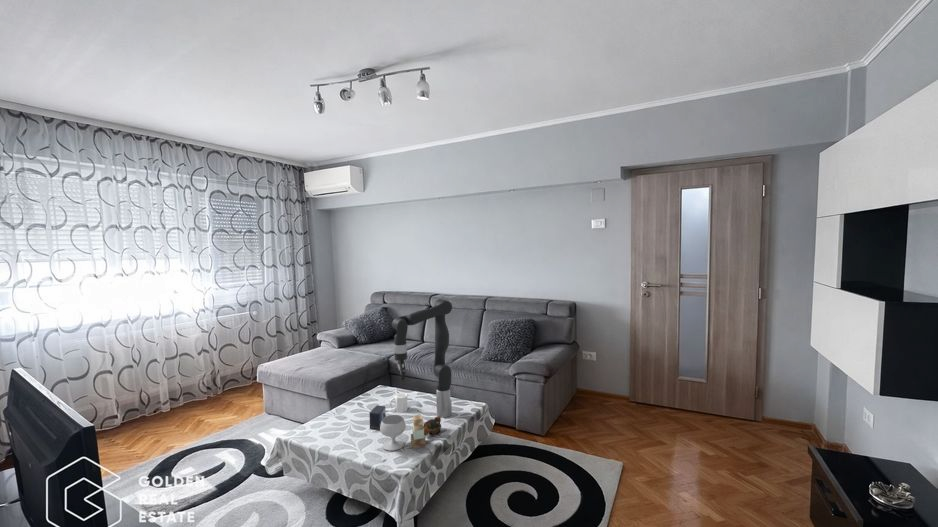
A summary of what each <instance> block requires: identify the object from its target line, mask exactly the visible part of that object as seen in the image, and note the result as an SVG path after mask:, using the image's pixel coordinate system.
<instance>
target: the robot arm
mask: <svg viewBox="0 0 938 527" xmlns="http://www.w3.org/2000/svg"><path fill="white" fill-rule="evenodd" d="M433 304H434V305H433V307H431V308H427V309H425V308H424V309H420V310H416V311H414V312H411V313H410V314H405V315H402V316H398V317H395V318H394V319H393V320H392V321H391V322H392V323H391V326H392V328H393V329H394V330H396V334H395V335H394V337H393V339H394V340H393V343H394V349H393V350H394V351H393V352H394V360H395V361H397V369H398V376H400V380H401V381H405V379H406V375H405V374H407V372H406V362H405V361H406V360H407V359H408V346H407V334H408V327H409V326H415V325H418V324H419V323H422V322H424V321H426V320H430V319H434V361H433V362H434V363H433V374H434V376H436V377H437V378H438V383H436V386H435V395H436V397H435V399H436V404H435V405H436V417H437V416H440V418H447V417H450V416H452V415H453V412H452V411H453V410H452V407H453V406H452V399H451V386H452V369H451V367H450V366H448V364H446V353H447V351H448V348H449V346H450V331H449V328H448V326H447V322H446V315H449V314H450V313H451V311H452V310H453V304H452V303H451V302H450V301H449V300H447V299H441V298H438V299H437V300H436V301H435V302H434V303H433Z"/></svg>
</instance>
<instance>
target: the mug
mask: <svg viewBox="0 0 938 527" xmlns="http://www.w3.org/2000/svg"><path fill="white" fill-rule="evenodd" d="M393 401H394V405H395V406H394V405H393ZM389 405H390V407H391V409H393V408H394V410H395V411H396V412H397V413H404V412H407V411H408V409H409V408H408V394H407V393H406V392H400V393H396V394H395V395H394V397H392V398H391V399H390V400H389Z"/></svg>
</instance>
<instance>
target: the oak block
mask: <svg viewBox="0 0 938 527" xmlns="http://www.w3.org/2000/svg"><path fill="white" fill-rule="evenodd" d="M423 425H424V419H423V415H422V414H419V415H418V414H417V415H413V416H412V428H413V427H414V431H415V430H421V429H423Z"/></svg>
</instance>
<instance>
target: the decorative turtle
mask: <svg viewBox="0 0 938 527" xmlns="http://www.w3.org/2000/svg"><path fill="white" fill-rule="evenodd" d="M441 418H442V417H440V416H437V415H436V416H435V417H434V419H432V418H431V419H429V420H427V421H425V422H424V423H423V428H424V436H425V437H426V436H427V435H429V434H430V433H431V435H433V436H436V434H437V433H440V431H441V428H442V424H441V421H442V419H441Z"/></svg>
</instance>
